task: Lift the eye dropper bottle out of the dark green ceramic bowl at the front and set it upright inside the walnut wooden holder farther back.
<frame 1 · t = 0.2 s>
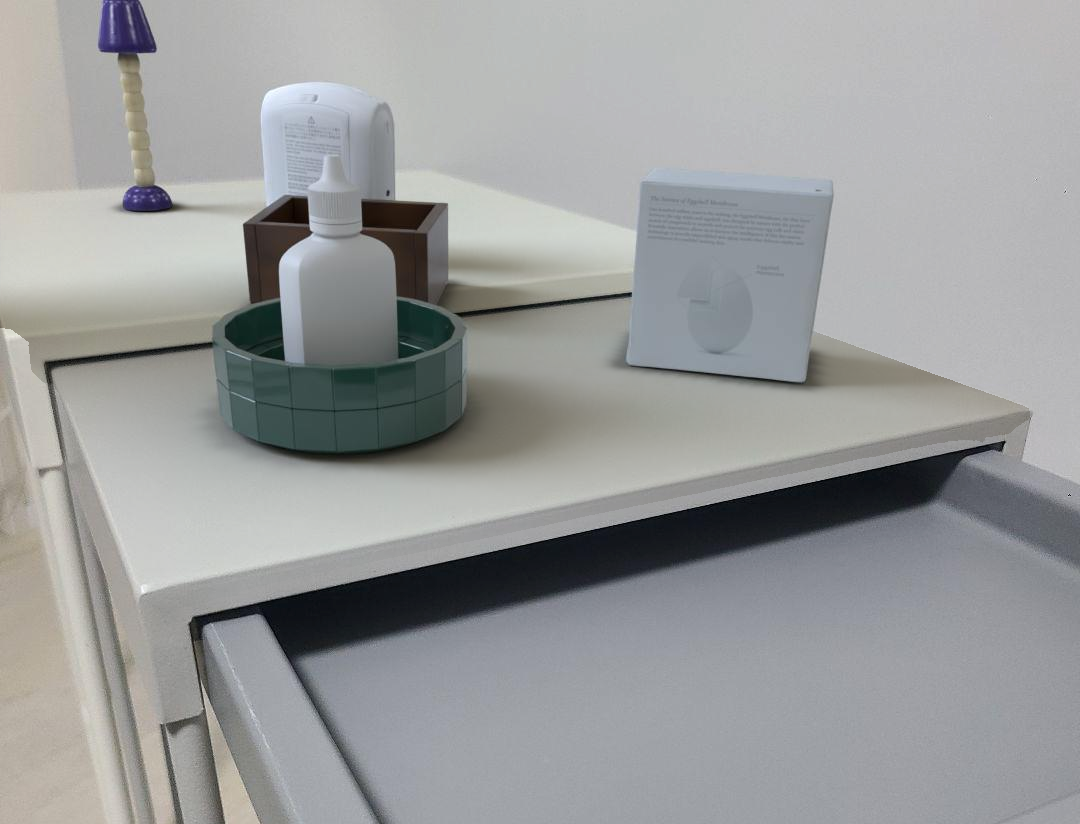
toy lamp: (149, 208, 96), on the cabinet
bowl: (345, 412, 55), on the cabinet
cosmetics box: (717, 361, 65), on the cabinet
holder: (354, 296, 73), on the cabinet
eye dropper bottle: (345, 406, 54), resting on bowl
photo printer: (333, 257, 83), on the cabinet
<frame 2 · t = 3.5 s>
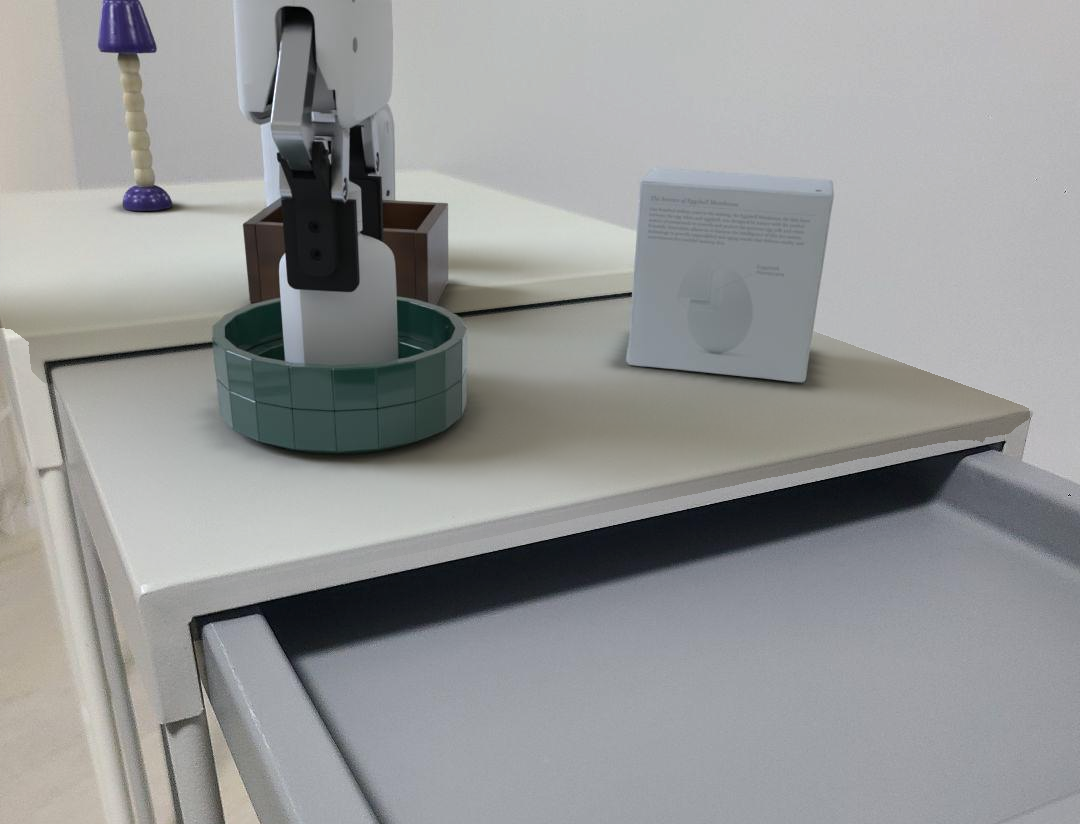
hand: (338, 268, 51), 7 cm above the cabinet, tool pointing down, fingers closed on eye dropper bottle, 5 cm apart
eye dropper bottle: (345, 406, 54), resting on bowl, touching gripper
everything else where it was.
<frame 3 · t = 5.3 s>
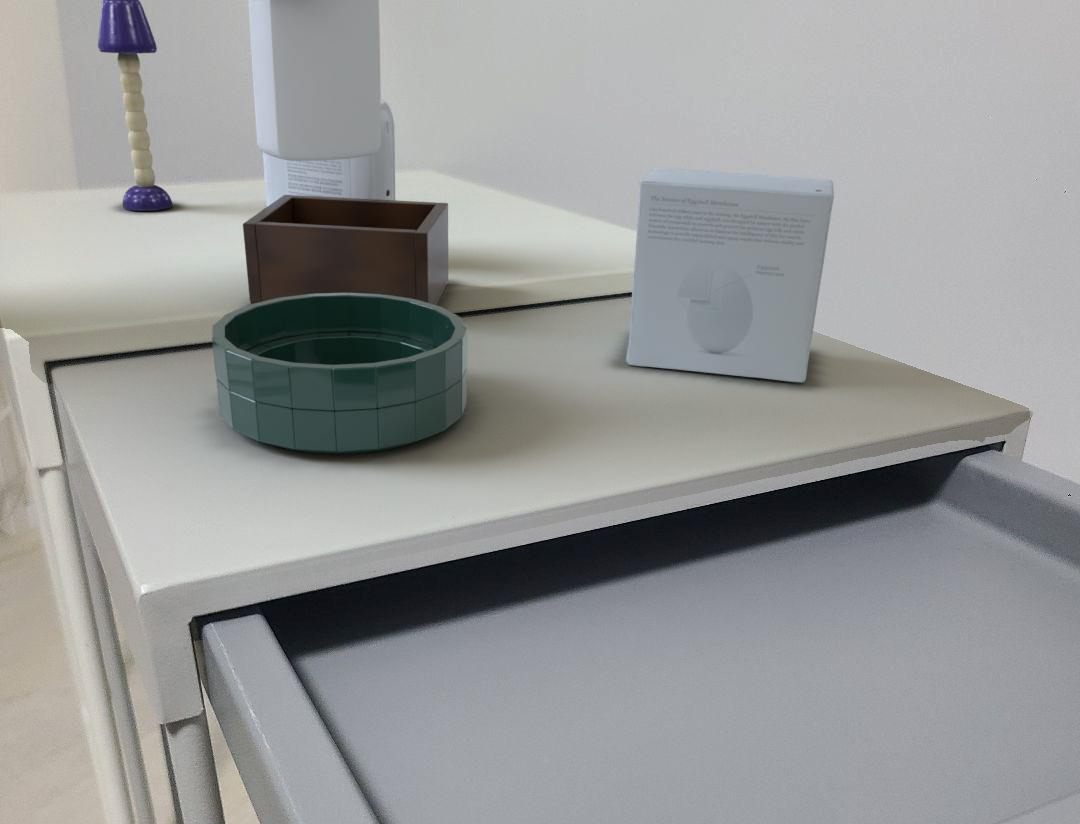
eye dropper bottle: (321, 158, 49), point 12 cm above the cabinet, touching gripper
everything else where it was.
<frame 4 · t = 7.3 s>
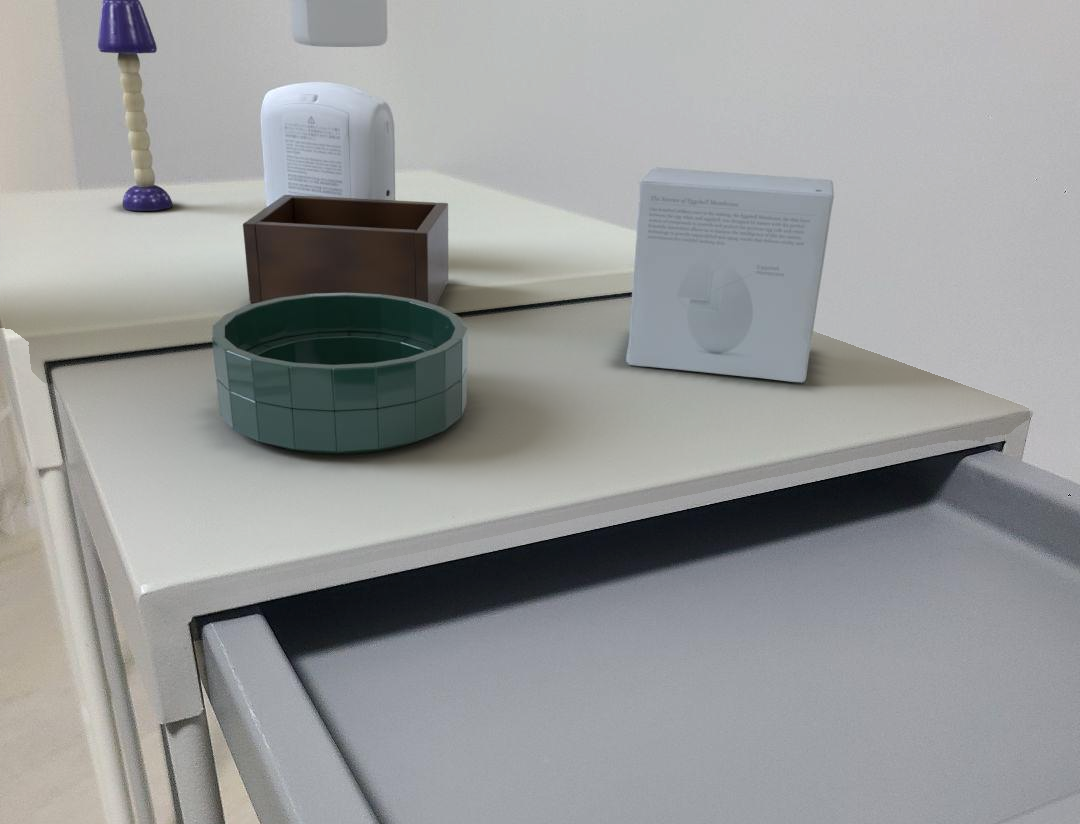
eye dropper bottle: (341, 48, 63), point 16 cm above the cabinet, touching gripper
everything else where it was.
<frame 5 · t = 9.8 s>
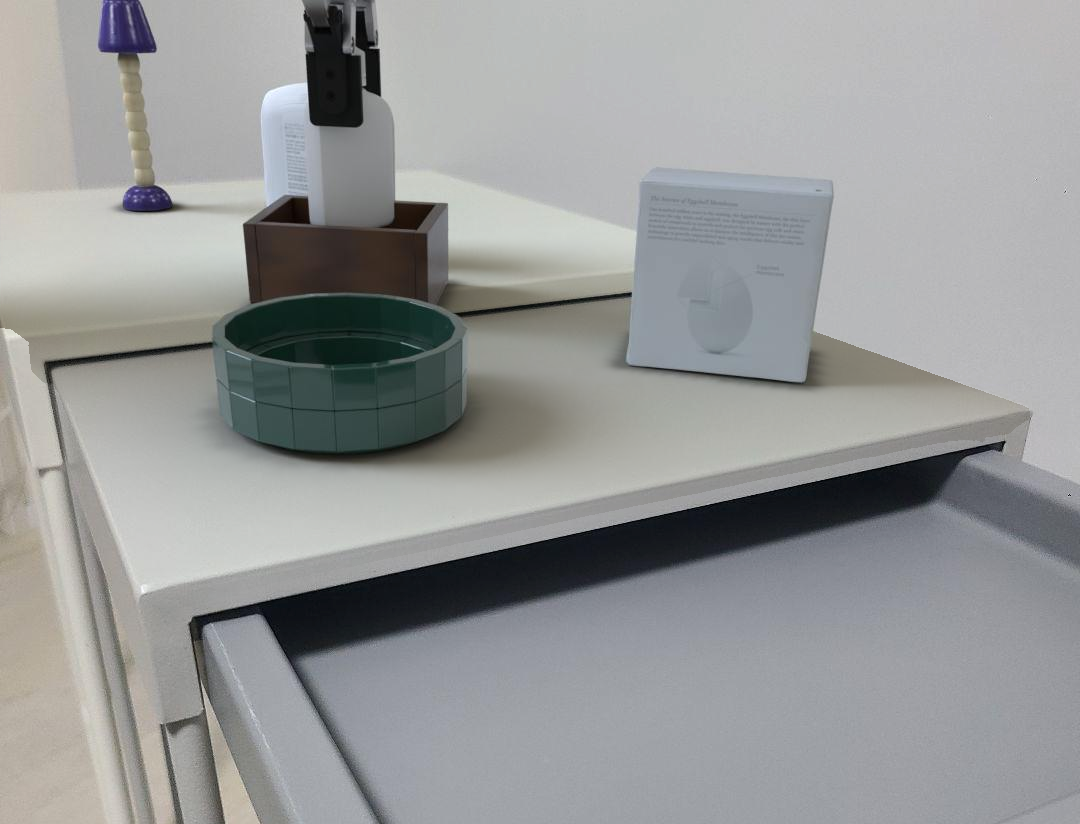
hand: (347, 116, 68), 12 cm above the cabinet, tool pointing down, fingers closed on eye dropper bottle, 5 cm apart
eye dropper bottle: (353, 229, 71), point 5 cm above the cabinet, touching gripper
everything else where it was.
when the fingers open (7 cm above the cabinet, at t = 11.4 s): eye dropper bottle stays where it is, resting on holder.
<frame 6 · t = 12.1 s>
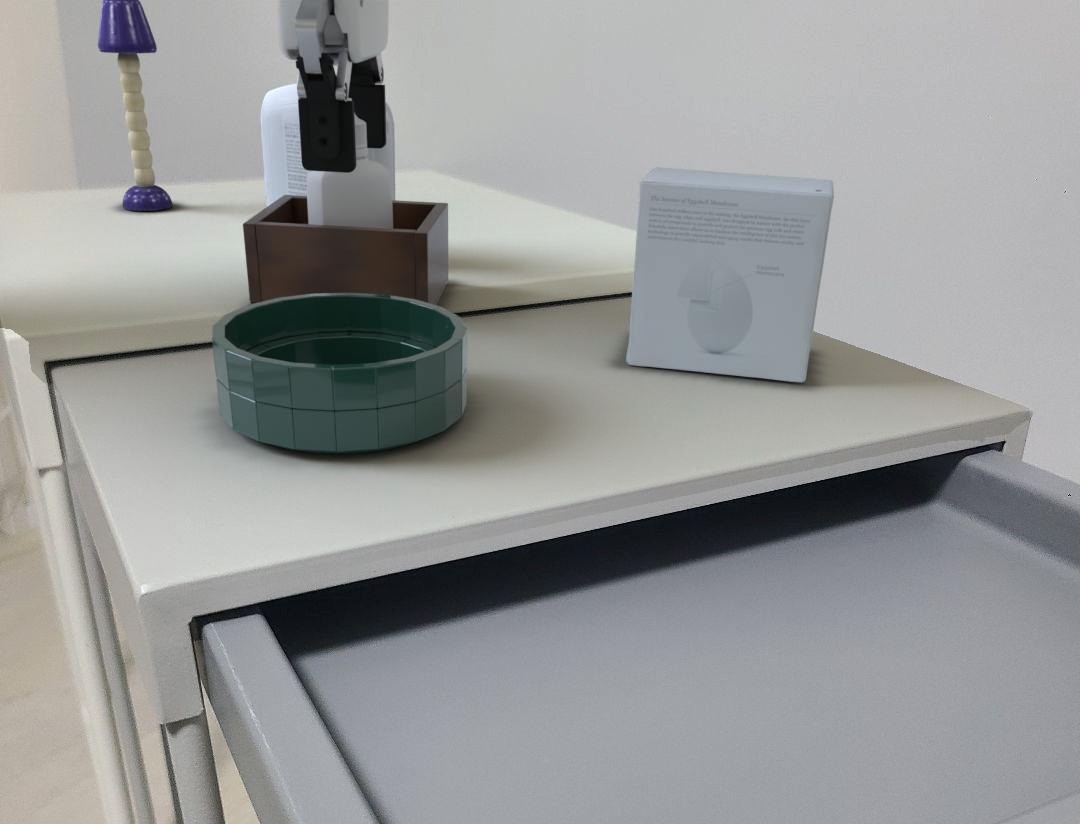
hand: (347, 158, 69), 9 cm above the cabinet, tool pointing down, fingers open, 9 cm apart
eye dropper bottle: (354, 290, 73), resting on holder
everything else where it was.
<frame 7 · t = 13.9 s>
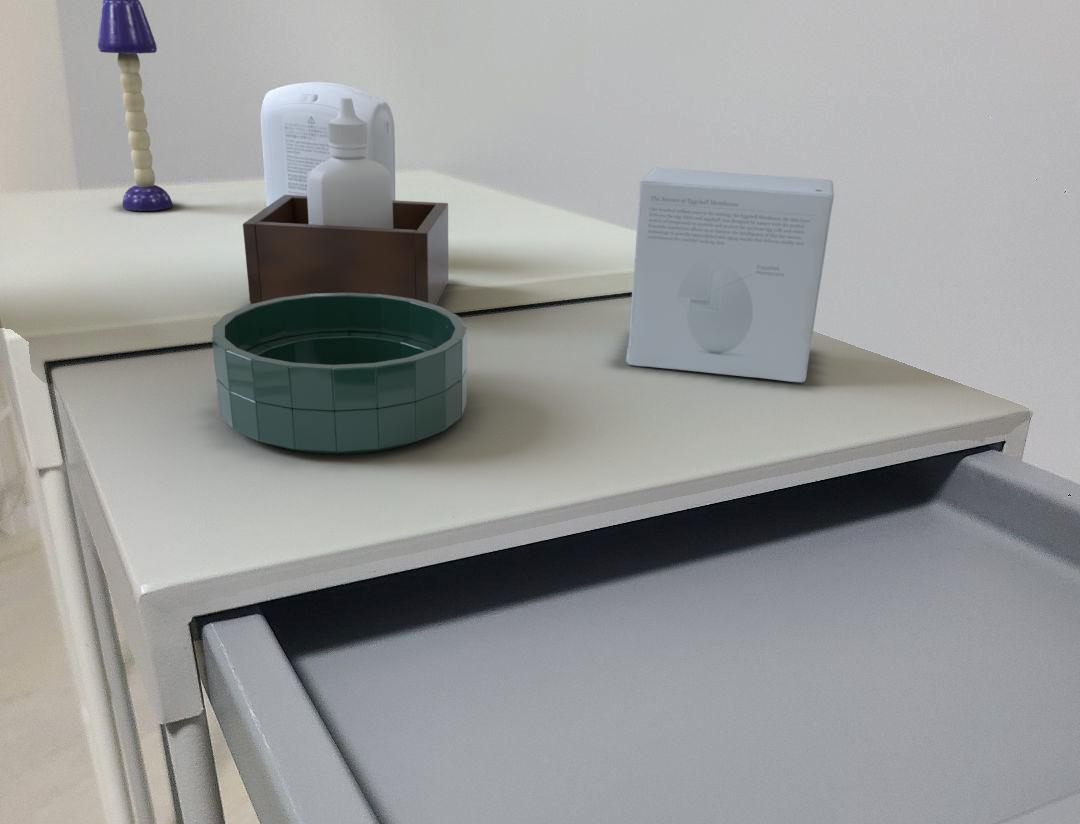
nothing on the cabinet moved.
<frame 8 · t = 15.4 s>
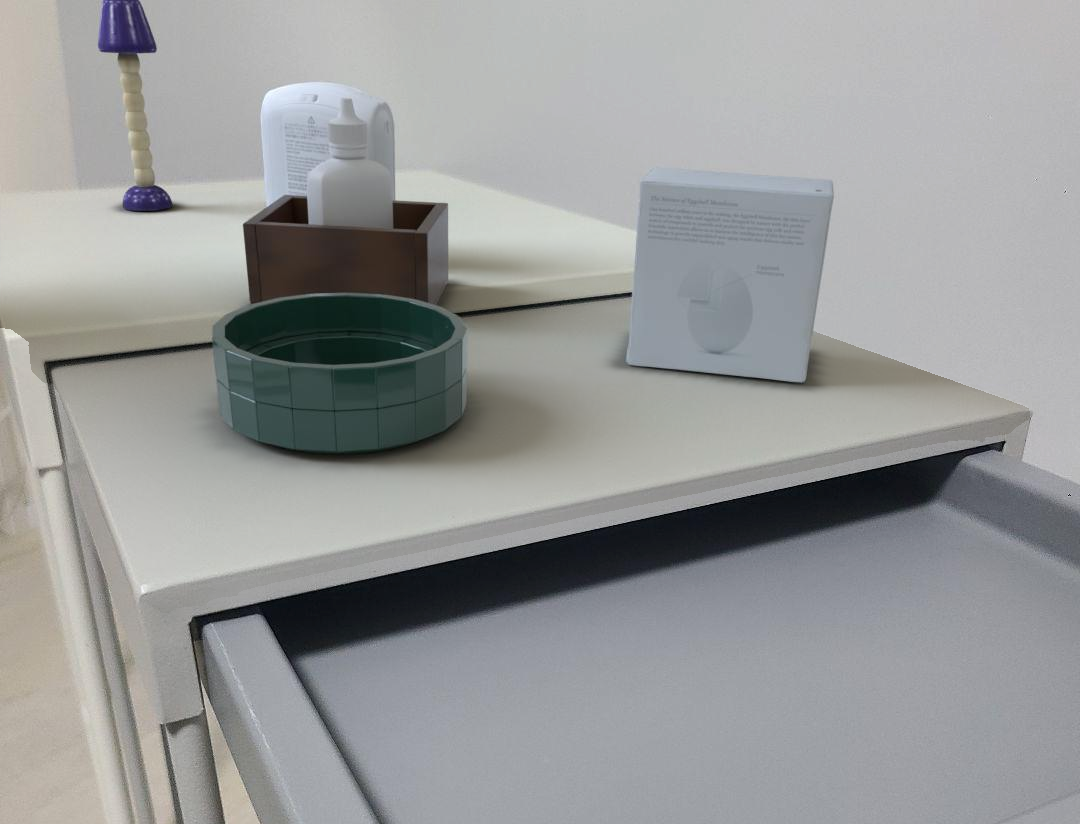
nothing on the cabinet moved.
at the end: eye dropper bottle inside the target area in the holder (0.0 cm from its centre), point 0.4 cm above the holder's base; eye dropper bottle tilted 0°; the gripper is holding nothing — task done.
